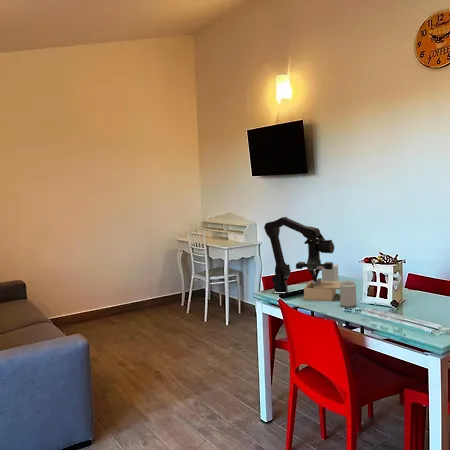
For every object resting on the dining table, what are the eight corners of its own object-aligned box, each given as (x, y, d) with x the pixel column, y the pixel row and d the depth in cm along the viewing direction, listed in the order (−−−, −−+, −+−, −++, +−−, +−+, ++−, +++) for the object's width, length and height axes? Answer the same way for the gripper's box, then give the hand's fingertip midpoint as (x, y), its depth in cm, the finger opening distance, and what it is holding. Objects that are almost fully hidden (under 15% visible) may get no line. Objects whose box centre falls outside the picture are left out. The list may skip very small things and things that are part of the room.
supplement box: (339, 286, 269) (338, 264, 268) (334, 289, 263) (333, 266, 262) (326, 285, 273) (325, 263, 272) (321, 288, 267) (321, 266, 266)
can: (347, 308, 226) (347, 283, 224) (337, 305, 232) (336, 281, 231) (359, 305, 229) (359, 281, 228) (349, 302, 236) (348, 278, 235)
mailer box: (304, 299, 246) (303, 288, 245) (309, 292, 259) (309, 282, 258) (331, 300, 241) (331, 289, 240) (335, 293, 254) (335, 282, 253)
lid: (313, 288, 243) (313, 283, 243) (318, 282, 256) (318, 277, 256) (342, 289, 238) (342, 284, 237) (346, 282, 251) (346, 277, 251)
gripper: (292, 255, 244) (294, 284, 246) (329, 255, 237) (330, 285, 239) (297, 251, 254) (298, 280, 256) (333, 251, 247) (334, 280, 249)
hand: (315, 281), depth 250 cm, fingers closed
